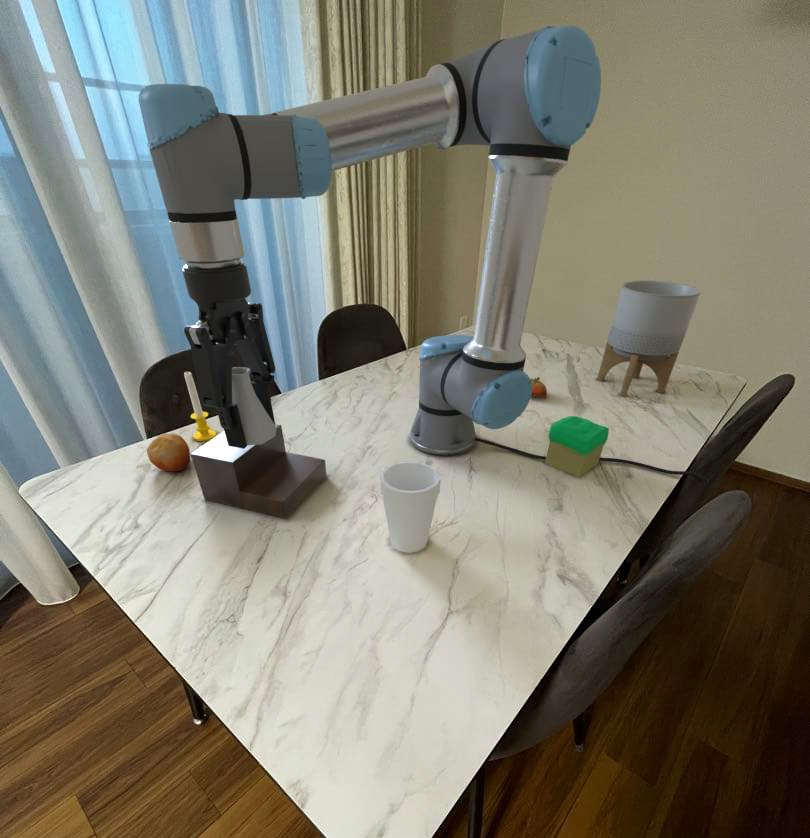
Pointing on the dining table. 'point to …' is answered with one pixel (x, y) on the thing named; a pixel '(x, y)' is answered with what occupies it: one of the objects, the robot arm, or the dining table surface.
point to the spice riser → (257, 475)
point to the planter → (648, 329)
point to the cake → (575, 444)
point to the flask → (250, 409)
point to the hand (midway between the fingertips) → (252, 434)
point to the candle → (198, 413)
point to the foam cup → (409, 503)
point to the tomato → (538, 388)
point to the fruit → (169, 452)
